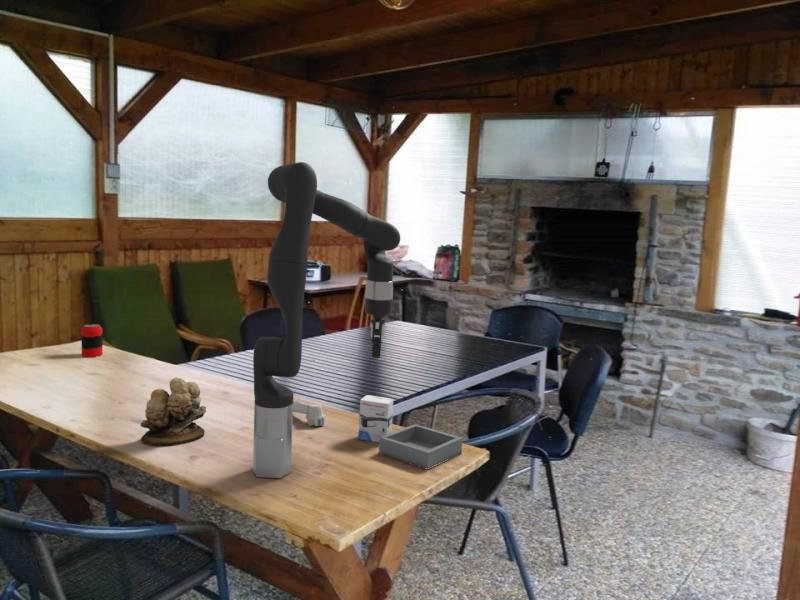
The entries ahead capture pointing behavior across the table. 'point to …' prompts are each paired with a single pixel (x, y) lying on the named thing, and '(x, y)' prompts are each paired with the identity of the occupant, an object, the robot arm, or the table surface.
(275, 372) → the robot arm
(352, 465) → the table surface
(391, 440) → the walled crate
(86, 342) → the soda can
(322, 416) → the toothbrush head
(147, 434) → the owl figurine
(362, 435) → the ink box
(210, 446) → the table surface
